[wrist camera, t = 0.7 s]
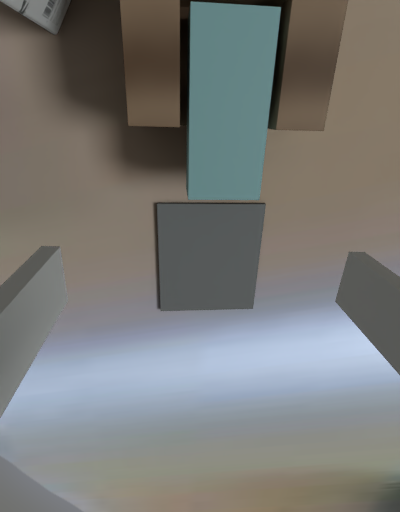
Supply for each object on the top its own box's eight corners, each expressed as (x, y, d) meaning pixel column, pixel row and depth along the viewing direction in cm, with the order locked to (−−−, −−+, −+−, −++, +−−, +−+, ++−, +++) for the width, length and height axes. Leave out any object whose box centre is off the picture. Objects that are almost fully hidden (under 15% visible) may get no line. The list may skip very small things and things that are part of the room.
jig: (126, -111, 23) (105, -213, 16) (319, -93, 24) (381, -181, 17) (138, 122, 30) (128, 125, 22) (288, 126, 31) (323, 131, 24)
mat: (157, 202, 33) (157, 203, 33) (264, 203, 34) (265, 204, 34) (160, 309, 39) (160, 310, 39) (252, 306, 40) (252, 308, 40)
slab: (187, 18, 23) (190, 1, 20) (264, 22, 24) (281, 7, 20) (186, 188, 29) (188, 199, 25) (248, 189, 29) (259, 200, 26)
